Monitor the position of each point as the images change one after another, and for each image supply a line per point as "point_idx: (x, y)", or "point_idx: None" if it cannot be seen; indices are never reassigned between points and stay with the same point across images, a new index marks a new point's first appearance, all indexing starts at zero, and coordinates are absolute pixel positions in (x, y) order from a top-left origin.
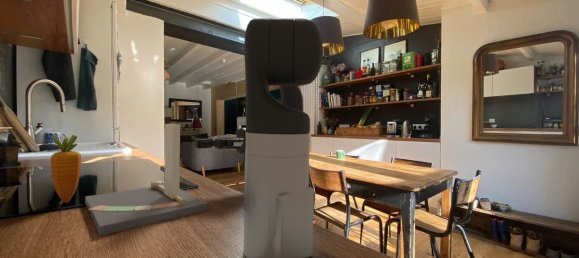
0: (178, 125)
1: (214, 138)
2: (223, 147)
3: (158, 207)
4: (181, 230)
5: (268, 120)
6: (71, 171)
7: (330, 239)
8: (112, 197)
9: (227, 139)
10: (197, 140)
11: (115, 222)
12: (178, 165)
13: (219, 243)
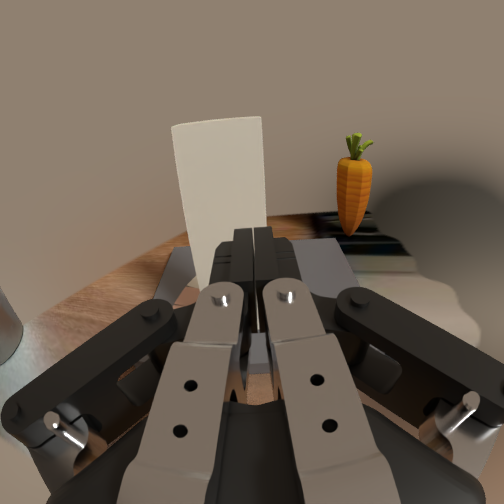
0: (173, 129)
1: (211, 291)
2: (138, 368)
3: (183, 294)
4: (107, 310)
5: None
6: (339, 190)
7: None
8: (308, 258)
9: (84, 343)
10: (238, 229)
11: (172, 255)
12: (194, 259)
13: (48, 321)
